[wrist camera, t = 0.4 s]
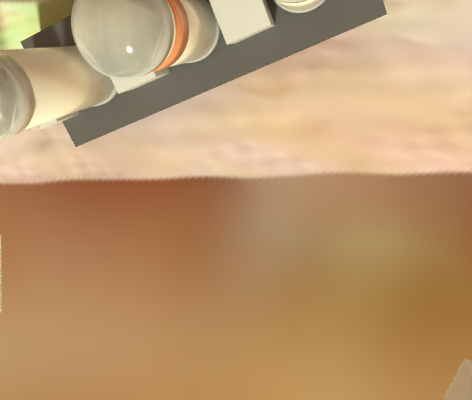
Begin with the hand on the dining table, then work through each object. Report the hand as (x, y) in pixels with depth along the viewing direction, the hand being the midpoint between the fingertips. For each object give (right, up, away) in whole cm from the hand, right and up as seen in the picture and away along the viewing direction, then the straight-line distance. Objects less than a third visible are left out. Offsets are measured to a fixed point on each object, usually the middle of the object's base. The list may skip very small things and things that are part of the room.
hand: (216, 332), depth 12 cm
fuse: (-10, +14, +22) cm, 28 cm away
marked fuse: (-3, +16, +20) cm, 26 cm away
